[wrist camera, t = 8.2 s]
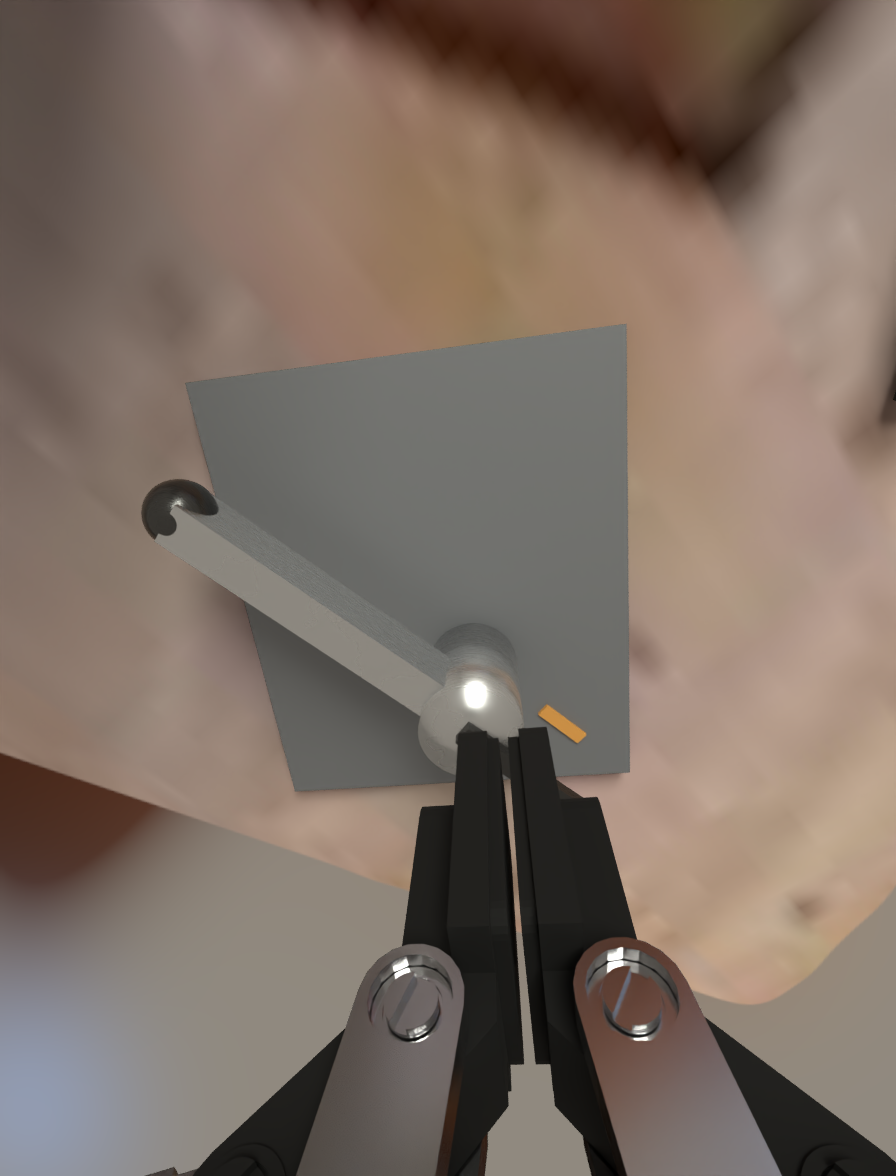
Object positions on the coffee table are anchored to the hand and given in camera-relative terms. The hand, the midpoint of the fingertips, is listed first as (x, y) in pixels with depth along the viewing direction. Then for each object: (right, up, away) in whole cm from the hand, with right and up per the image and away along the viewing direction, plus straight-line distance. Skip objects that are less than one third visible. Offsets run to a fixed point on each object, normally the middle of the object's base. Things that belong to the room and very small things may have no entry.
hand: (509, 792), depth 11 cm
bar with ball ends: (-4, +3, +21) cm, 22 cm away
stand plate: (-2, +4, +23) cm, 23 cm away
